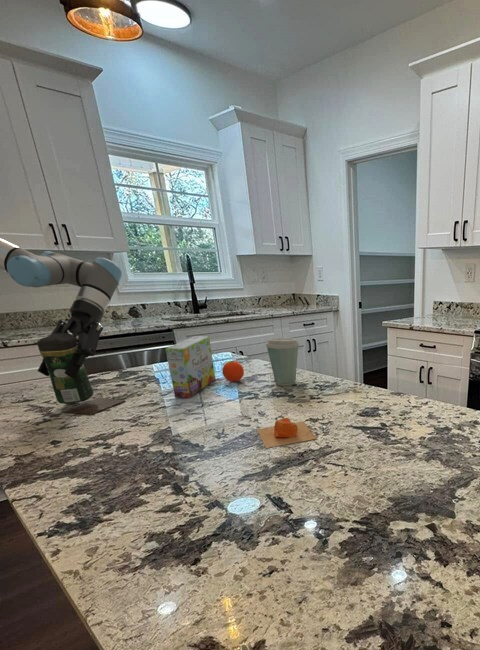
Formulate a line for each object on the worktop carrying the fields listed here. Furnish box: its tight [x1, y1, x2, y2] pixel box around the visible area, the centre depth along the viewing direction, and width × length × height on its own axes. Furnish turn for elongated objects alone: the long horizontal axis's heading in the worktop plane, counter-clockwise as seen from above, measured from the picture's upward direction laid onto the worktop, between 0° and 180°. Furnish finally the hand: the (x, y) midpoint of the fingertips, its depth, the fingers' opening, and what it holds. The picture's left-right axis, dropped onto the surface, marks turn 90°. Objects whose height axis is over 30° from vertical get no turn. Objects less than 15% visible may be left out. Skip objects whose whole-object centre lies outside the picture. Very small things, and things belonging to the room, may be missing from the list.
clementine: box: [221, 360, 245, 383], centre depth 142 cm, size 8×7×7 cm
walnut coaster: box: [61, 397, 126, 416], centre depth 120 cm, size 10×12×1 cm
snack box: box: [165, 335, 217, 399], centre depth 133 cm, size 21×6×15 cm, turn 1°
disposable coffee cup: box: [265, 337, 300, 387], centre depth 137 cm, size 11×11×15 cm
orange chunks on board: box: [256, 417, 318, 449], centre depth 100 cm, size 12×12×4 cm
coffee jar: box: [36, 332, 95, 405], centre depth 117 cm, size 10×8×19 cm
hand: (56, 374), depth 114 cm, fingers closed on coffee jar, 9 cm apart
